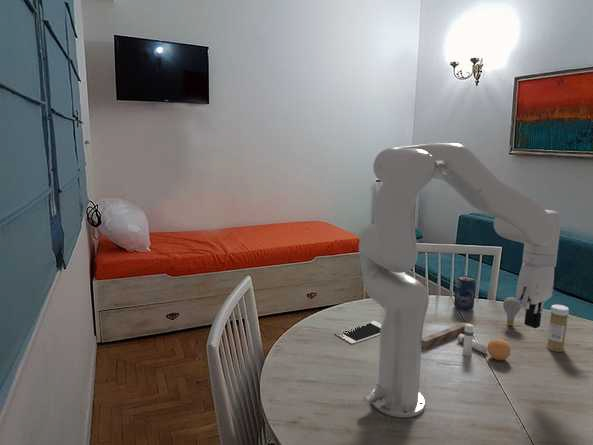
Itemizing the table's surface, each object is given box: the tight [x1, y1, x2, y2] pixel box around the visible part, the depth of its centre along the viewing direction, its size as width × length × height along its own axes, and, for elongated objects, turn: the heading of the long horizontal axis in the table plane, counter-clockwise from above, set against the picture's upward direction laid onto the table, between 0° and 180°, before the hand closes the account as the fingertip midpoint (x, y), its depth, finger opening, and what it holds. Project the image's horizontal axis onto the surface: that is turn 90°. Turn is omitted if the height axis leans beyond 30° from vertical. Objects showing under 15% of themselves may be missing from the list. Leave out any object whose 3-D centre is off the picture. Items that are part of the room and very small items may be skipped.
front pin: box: [457, 334, 488, 354], centre depth 132 cm, size 2×2×9 cm
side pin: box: [462, 323, 475, 357], centre depth 127 cm, size 2×2×9 cm
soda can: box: [453, 275, 477, 313], centre depth 161 cm, size 7×7×12 cm
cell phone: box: [340, 320, 382, 345], centre depth 142 cm, size 9×18×1 cm, turn 124°
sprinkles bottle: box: [546, 304, 570, 353], centre depth 130 cm, size 5×5×13 cm
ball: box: [487, 338, 511, 361], centre depth 125 cm, size 6×6×6 cm
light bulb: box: [502, 296, 522, 327], centre depth 147 cm, size 6×6×10 cm
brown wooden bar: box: [421, 322, 468, 350], centre depth 138 cm, size 22×2×2 cm, turn 125°
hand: (532, 325), depth 114 cm, fingers closed
